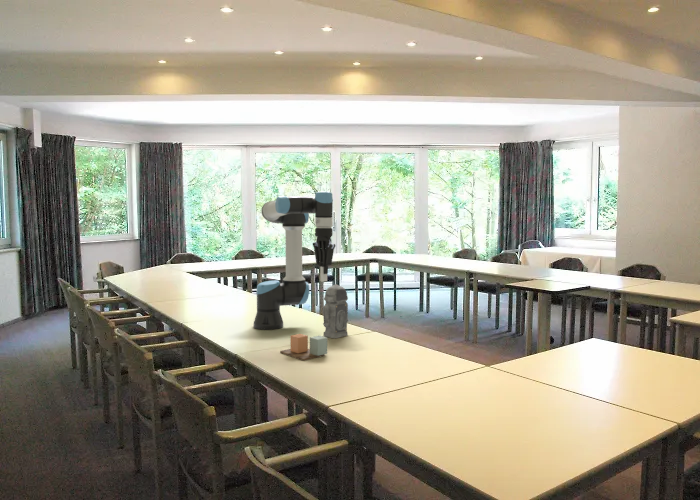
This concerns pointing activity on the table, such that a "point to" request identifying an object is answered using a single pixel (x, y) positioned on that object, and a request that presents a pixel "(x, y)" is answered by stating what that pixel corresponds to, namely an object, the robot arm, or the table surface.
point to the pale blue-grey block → (318, 345)
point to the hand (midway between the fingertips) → (323, 281)
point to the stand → (300, 354)
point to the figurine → (335, 312)
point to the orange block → (299, 343)
